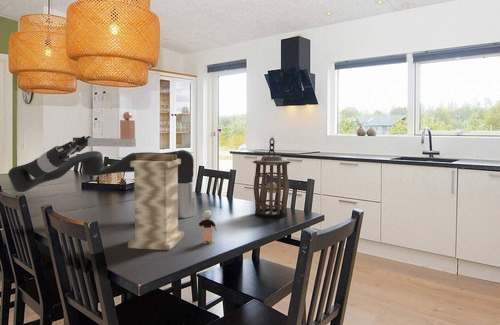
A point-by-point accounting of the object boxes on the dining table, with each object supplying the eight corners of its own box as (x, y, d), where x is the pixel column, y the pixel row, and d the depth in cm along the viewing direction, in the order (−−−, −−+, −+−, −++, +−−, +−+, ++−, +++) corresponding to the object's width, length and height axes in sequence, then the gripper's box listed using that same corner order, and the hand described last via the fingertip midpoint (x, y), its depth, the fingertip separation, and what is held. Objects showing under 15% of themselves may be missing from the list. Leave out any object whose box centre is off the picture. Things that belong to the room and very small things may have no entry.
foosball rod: (72, 145, 145) (71, 111, 144) (78, 145, 149) (77, 111, 148) (131, 147, 142) (131, 111, 141) (136, 146, 146) (135, 112, 145)
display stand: (127, 247, 139) (126, 156, 136) (146, 234, 156) (145, 152, 153) (169, 250, 137) (169, 156, 134) (184, 236, 155) (183, 153, 152)
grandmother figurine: (217, 241, 148) (217, 209, 147) (216, 244, 145) (216, 211, 143) (197, 241, 148) (197, 209, 147) (196, 244, 144) (196, 211, 143)
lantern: (297, 215, 195) (298, 138, 191) (271, 221, 182) (272, 138, 178) (270, 209, 209) (271, 137, 205) (244, 214, 196) (245, 137, 192)
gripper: (68, 165, 156) (102, 145, 153) (46, 169, 142) (83, 147, 139) (59, 150, 156) (93, 129, 153) (36, 152, 142) (73, 129, 139)
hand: (88, 138), depth 146 cm, fingers closed on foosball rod, 3 cm apart
